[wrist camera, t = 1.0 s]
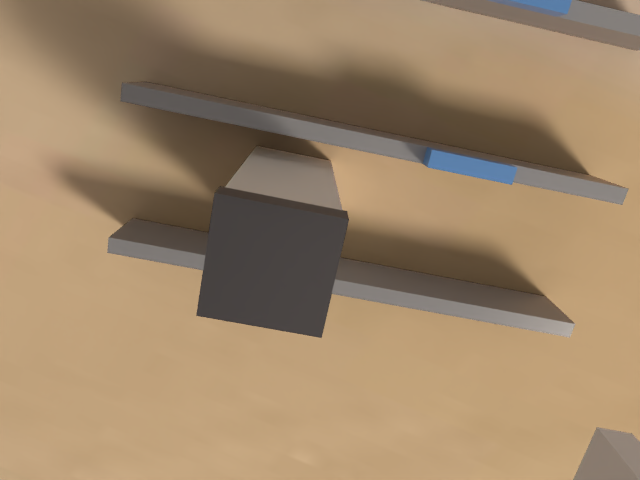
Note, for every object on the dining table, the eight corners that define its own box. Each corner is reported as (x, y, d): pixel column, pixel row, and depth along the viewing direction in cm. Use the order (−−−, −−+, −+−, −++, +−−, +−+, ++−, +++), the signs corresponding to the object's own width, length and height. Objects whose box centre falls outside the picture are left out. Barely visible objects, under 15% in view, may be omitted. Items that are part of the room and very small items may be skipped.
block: (242, 218, 28) (196, 315, 17) (255, 143, 27) (214, 193, 16) (317, 233, 29) (321, 337, 17) (332, 159, 27) (348, 219, 16)
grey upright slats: (131, 231, 28) (99, 259, 24) (162, -80, 24) (129, -114, 20) (541, 308, 30) (579, 347, 26) (642, 33, 26) (709, 25, 21)
